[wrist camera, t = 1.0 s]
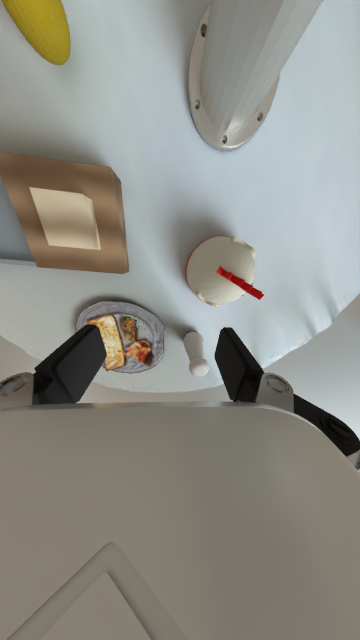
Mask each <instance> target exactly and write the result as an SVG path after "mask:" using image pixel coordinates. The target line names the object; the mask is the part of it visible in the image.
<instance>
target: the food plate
mask: <svg viewBox="0 0 360 640" xmlns="http://www.w3.org/2000/svg"><path fill="white" fill-rule="evenodd" d="M113 314H122V315H123V314H124V315H131V316H134V317H137V318H138V319H139V320H142V321H143V324H144V323H145V324H146V328H147V329H149V328H150V329H149V330H150V332H148V334H147V335H145V329H146V328H144V329H143V327H142V326H141V327H142V330H143V331H142V330H141V329H140V327H139V326H138V327H139V328H137V327H136V321H137V320H134V319H132V318H131V317H122V320H121V324H120V326H121V325H122V326H121V328H122V329H120V327H119V325H118V322H117V320H116V317H114V315H113ZM86 324H95V325H96V326H98V327H99V329H100V332H101V336H102V339H103V342H104V346H105V349H106V352H107V357H106V359H105V361H104V362H103V364H102V365H101V366H103V368H106V371H109V370H113V371H116V372H122V373H139V372H143V371H145V370H148V369H151V368H153V367H154V366H156V364H157V363H158V362H160V360H161V359H162V357H163V355H164V334H163V331H164V327H163V325H162V323H161V322H160V320H159V319H158V318H157V317H156V316H155V315H154V314H152V313H150V312H148V311H146V310H144V309H143V308H141V307H139V306H137V305H133V304H129V303H125V302H112V301H107V302H106V301H104V302H103V301H101V302H97V303H95V304H94V305H91V306H89V307H88V308H87V309H85V310H84V311H83V312H82V313H81V314H80V316H79V317H78V322H77V325H76V329H77V330H76V332H77V331H79V330H80V329H81V328H82V327H83V326H84V325H86ZM139 329H140V330H139ZM149 330H148V331H149ZM151 333H152V334H151ZM147 336H149V337H147ZM152 341H153V342H152ZM127 347H128V348H127Z"/></svg>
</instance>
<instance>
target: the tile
mask: <svg viewBox="0 0 360 640" xmlns="http://www.w3.org/2000/svg"><path fill="white" fill-rule="evenodd" d="M29 188H30V191H31V194H32V197H33V200H34V203H35V206H36V209H37V212H38V215H39V218H40V221H41V224H42V227H43V229H44V232H45V235H46V238H47V241H48V244H49V245H51V246H61V247H72V248H83V249H94V250H101V246H100V241H99V235H98V230H97V224H96V218H95V213H94V207H93V202H92V200H91V199H90V198H88V197H87V196H85V195H83V194H80V193H72V192H64V191H56V190H48V189H40V188H32V187H29Z"/></svg>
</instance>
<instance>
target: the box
mask: <svg viewBox="0 0 360 640" xmlns="http://www.w3.org/2000/svg"><path fill="white" fill-rule="evenodd" d="M0 263H3V264H16V265H28V266H37V265H36V263H35V260H34V258H33V255H32V253H31V250H30V248H29V245H28V243H27V240H26V238H25V235H24V233H23V230H22V228H21V225H20V223H19V220H18V218H17V215H16V213H15V211H14V208H13V206H12V203H11V201H10V198H9V196H8V193H7V191H6V188H5V186H4V183H3V181H2V178H1V176H0Z"/></svg>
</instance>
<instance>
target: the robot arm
mask: <svg viewBox="0 0 360 640" xmlns="http://www.w3.org/2000/svg"><path fill="white" fill-rule="evenodd" d="M322 1H323V0H211V3H210V4H209V5H208V7H207V9H206V11H205V13H204V15H203V17H202V18H201V20H200V23H199V26H198V29H197V31H196V34H195V37H194V42H193V46H192V50H191V57H190V65H189V78H188V92H189V103H190V109H191V113H192V117H193V120H194V123H195V126H196V128H197V130H198V132H199V134H200V135H201V137H202V138H203V140H204V141H205V142H206V143H207V144H208V145H209V146H211V147H213V148H214V149H216V150H220V151H232V150H235V149H238V148H240V147H241V146H243V145H244V144H246V143H247V142H248V141H249V140H250V139H251V138H252V137H253V135H254V134H255V133H256V132H257V130H258V129H259V127H260V126H261V124H262V123H263V121H264V120H265V118H266V116H267V114H268V112H269V110H270V107H271V105H272V102H273V99H274V97H275V93H276V89H277V85H278V81H279V75H280V72H281V70H282V68H283V67H284V65H285V63H286V62H287V60H288V58H289V57H290V55H291V53H292V52H293V50H294V48H295V47H296V45H297V43H298V42H299V40H300V38H301V37H302V35H303V33H304V32H305V30H306V28H307V27H308V25H309V23H310V22H311V20H312V18H313V16H314V15H315V13H316V11H317V10H318V8H319V6H320V5H321V3H322ZM196 108H197V109H198V110H197V109H196ZM223 142H224V144H223ZM106 357H107V352H106V349H105V346H104V342H103V339H102V336H101V332H100V329H99V327H98V326H96V325H95V324H86V325H84V326H83V327H82V328H81V329H80V330H79V331H77V332H76V333H75V334H74V335H73V336H72V337H70V338H69V339H68V340H67V341H66V342H65V343H63V344H62V345H61V346H60V347H59V348H57V349H56V350H55V351H54V352H53V353H52V354H50V355H49V356H48V357H47V358H46V359H45V360H43V361H42V362H41V363H40V364H39V365H38V366H36V367H35V370H36V373H35V374H32V373H28V372H25V373H20V374H16V375H13V376H11V377H9V378H6V379H5V380H3V381H1V382H0V640H360V441H359V439H358V437H357V436H356V434H355V433H354V432H353V431H352V430H351V429H350V428H349V427H348V426H347V425H346V424H345V423H343V422H342V421H341V420H339V419H338V418H336V417H335V416H333V415H331V414H329V413H327V412H326V411H324V410H322V409H320V408H319V407H317V406H315V405H313V404H311V403H310V402H308V401H306V400H304V399H302V398H301V397H299V396H297V395H295V394H293V389H292V387H291V385H290V384H289V383H288V382H287V381H286V380H285V379H284V378H282V377H280V376H279V375H276V374H274V373H264V371H263V370H262V368H261V367H260V365H259V364H258V363H257V361H256V360H255V358H254V357H253V356H252V354H251V353H250V352H249V350H248V349H247V348H246V346H245V345H244V344H243V342H242V341H241V339H240V338H239V337H238V335H237V334H236V333H235V331H234V330H233V329H232V328H227V327H224V328H223V329H221V331H220V335H219V339H218V343H217V347H216V351H215V360H216V363H217V365H218V368H219V371H220V373H221V376H222V379H223V381H224V384H225V387H226V389H227V392H228V395H229V397H230V399H231V400H233V402H130V403H76V402H78V401H79V400H80V399H81V397H82V396H83V394H84V393H85V391H86V389H87V388H88V386H89V384H90V383H91V381H92V380H93V378H94V377H95V375H96V373H97V372H98V370H99V369H100V367H101V365H102V364H103V362H104V361H105V359H106Z"/></svg>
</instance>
